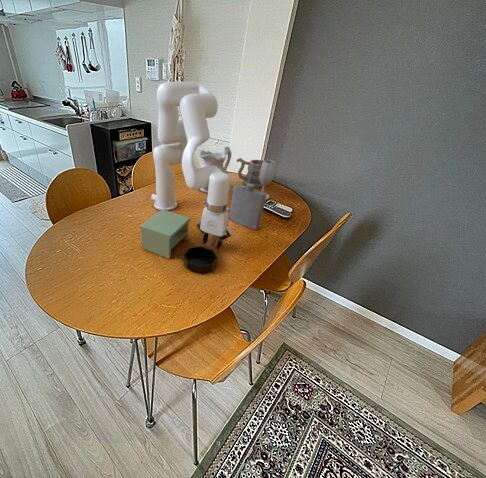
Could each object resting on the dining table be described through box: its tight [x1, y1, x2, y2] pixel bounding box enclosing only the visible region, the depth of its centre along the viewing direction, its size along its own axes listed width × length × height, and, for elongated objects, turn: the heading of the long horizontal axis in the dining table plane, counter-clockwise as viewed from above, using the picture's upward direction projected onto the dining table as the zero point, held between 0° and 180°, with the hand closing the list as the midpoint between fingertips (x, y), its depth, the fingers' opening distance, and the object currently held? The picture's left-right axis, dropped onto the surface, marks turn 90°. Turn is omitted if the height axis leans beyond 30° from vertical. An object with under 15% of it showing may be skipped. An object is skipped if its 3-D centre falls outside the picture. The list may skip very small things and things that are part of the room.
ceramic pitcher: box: [198, 146, 232, 194], centre depth 151 cm, size 22×20×25 cm
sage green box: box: [139, 210, 191, 259], centre depth 107 cm, size 14×16×11 cm
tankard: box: [235, 157, 264, 189], centre depth 163 cm, size 20×13×15 cm, turn 66°
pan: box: [182, 234, 219, 274], centre depth 102 cm, size 12×22×5 cm, turn 150°
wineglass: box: [259, 159, 276, 201], centre depth 143 cm, size 9×9×21 cm
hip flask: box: [228, 183, 268, 231], centre depth 119 cm, size 16×4×20 cm, turn 47°
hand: (212, 244), depth 107 cm, fingers open, 5 cm apart
